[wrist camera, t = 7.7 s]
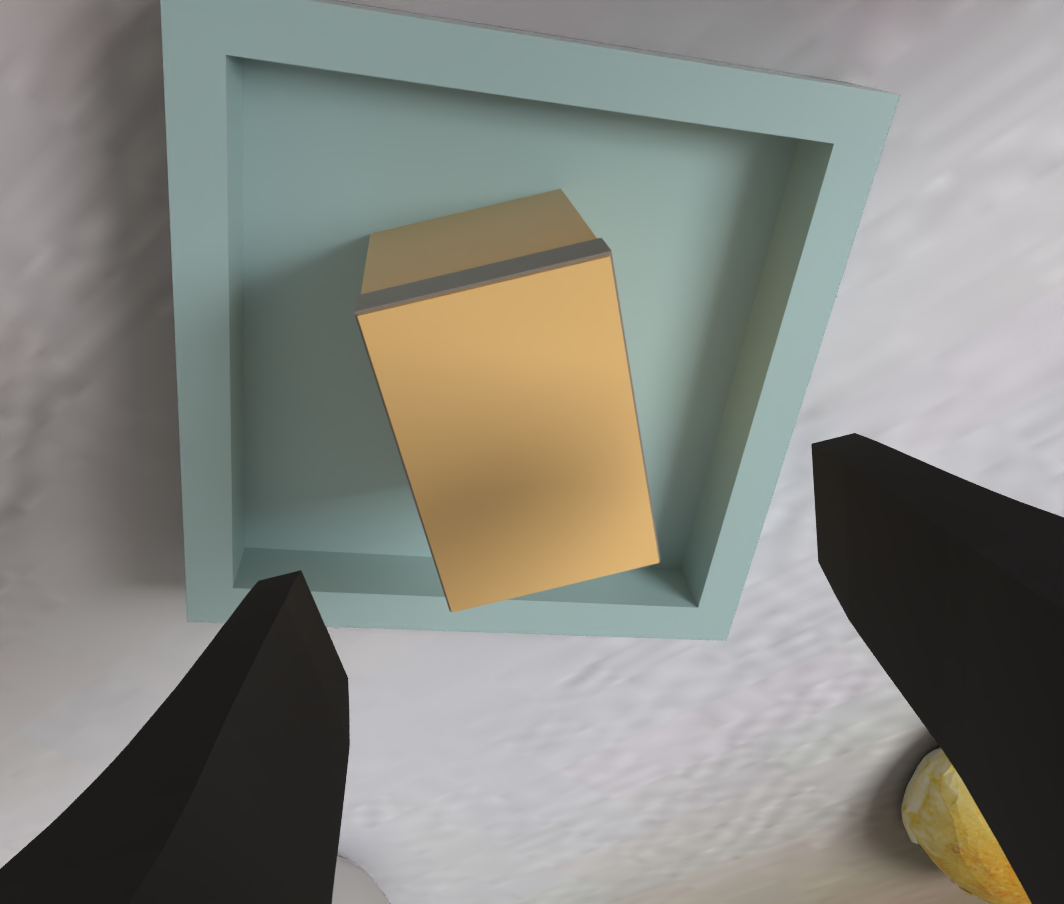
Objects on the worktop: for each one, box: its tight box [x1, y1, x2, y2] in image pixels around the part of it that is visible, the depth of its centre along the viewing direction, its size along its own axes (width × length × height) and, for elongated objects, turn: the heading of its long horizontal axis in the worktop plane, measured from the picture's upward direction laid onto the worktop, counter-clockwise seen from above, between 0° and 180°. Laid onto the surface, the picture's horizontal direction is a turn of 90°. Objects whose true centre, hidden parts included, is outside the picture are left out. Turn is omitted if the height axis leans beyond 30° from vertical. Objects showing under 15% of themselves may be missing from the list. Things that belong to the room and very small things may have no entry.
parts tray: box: [160, 0, 900, 641], centre depth 19 cm, size 13×13×2 cm
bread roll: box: [901, 747, 1032, 904], centre depth 28 cm, size 8×9×4 cm
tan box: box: [354, 189, 661, 613], centre depth 17 cm, size 4×6×5 cm
